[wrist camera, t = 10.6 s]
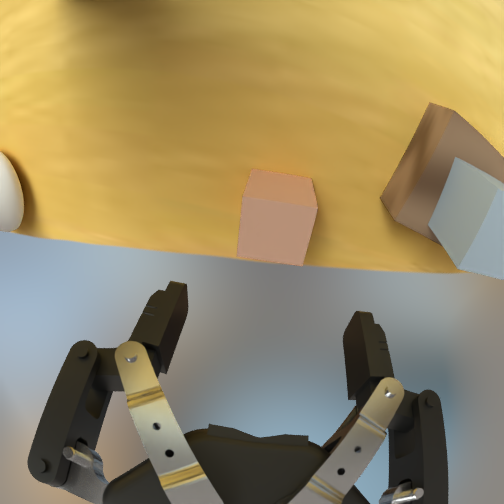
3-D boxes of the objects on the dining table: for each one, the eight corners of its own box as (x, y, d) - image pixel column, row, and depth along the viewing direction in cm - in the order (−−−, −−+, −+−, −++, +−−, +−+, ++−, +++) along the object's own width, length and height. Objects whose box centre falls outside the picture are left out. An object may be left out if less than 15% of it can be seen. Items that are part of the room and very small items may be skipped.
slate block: (455, 156, 14) (498, 188, 10) (500, 181, 14) (539, 214, 10) (427, 224, 17) (457, 268, 13) (474, 239, 17) (503, 280, 13)
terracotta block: (252, 168, 20) (242, 196, 16) (311, 177, 20) (317, 208, 16) (246, 219, 23) (236, 256, 19) (299, 227, 23) (302, 266, 19)
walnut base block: (427, 101, 15) (454, 110, 12) (493, 158, 16) (519, 176, 13) (378, 195, 20) (394, 220, 17) (448, 234, 21) (466, 260, 18)
